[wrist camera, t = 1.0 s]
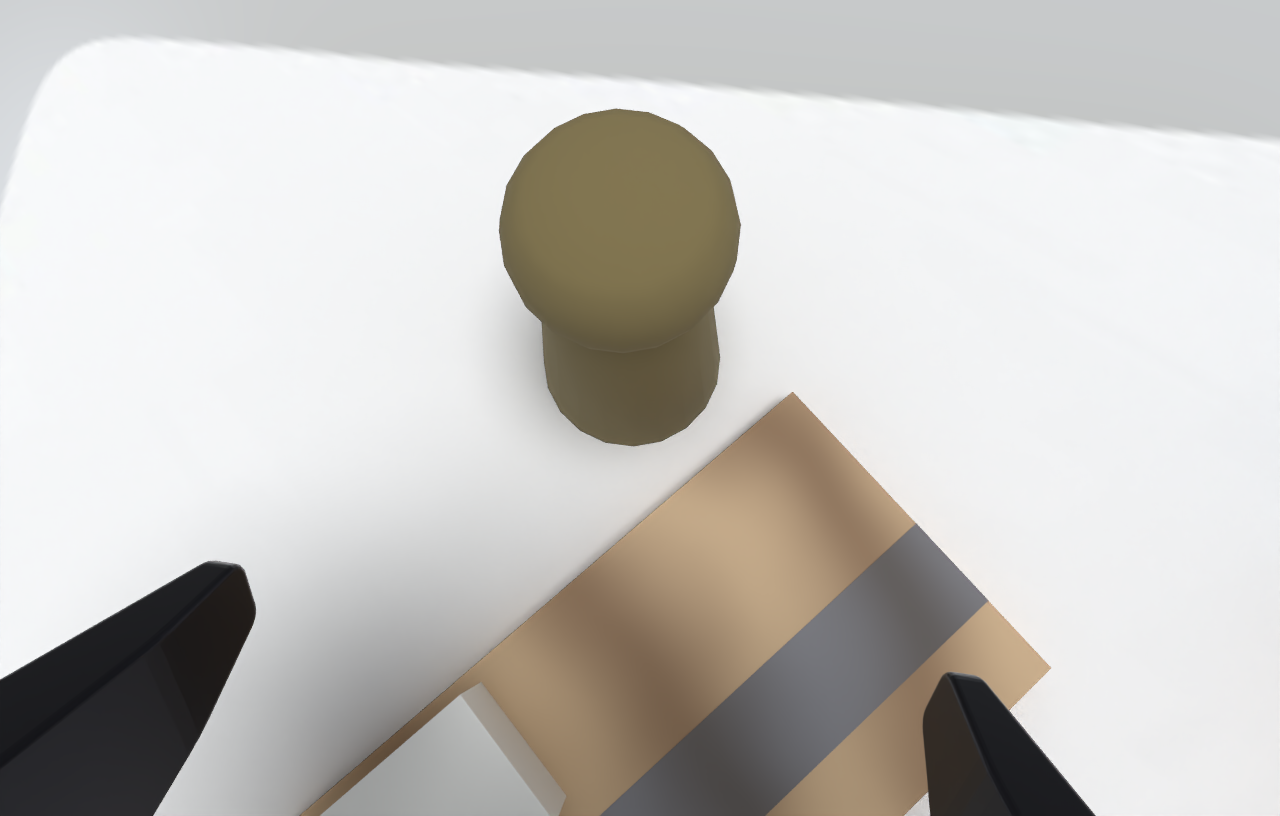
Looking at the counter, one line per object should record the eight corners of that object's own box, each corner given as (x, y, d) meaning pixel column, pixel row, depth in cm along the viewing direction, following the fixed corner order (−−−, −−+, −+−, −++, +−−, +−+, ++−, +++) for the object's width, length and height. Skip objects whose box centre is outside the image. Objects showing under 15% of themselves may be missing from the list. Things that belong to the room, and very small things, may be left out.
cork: (756, 375, 25) (836, 217, 14) (613, 482, 24) (582, 402, 13) (648, 246, 26) (645, 8, 15) (509, 344, 25) (402, 167, 14)
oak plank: (521, 1168, 20) (513, 1206, 18) (295, 823, 22) (273, 837, 20) (1030, 663, 22) (1051, 668, 21) (785, 400, 24) (792, 391, 23)
